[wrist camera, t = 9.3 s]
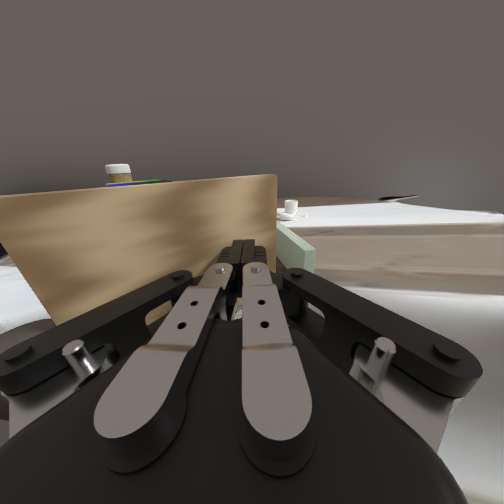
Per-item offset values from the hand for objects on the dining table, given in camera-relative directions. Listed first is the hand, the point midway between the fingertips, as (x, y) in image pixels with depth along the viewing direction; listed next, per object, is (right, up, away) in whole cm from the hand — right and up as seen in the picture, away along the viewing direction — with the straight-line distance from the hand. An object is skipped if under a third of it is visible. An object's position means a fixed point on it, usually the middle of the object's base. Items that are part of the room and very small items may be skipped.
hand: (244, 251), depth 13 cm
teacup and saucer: (+7, +8, +34) cm, 36 cm away
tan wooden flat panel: (-5, -6, +1) cm, 8 cm away
